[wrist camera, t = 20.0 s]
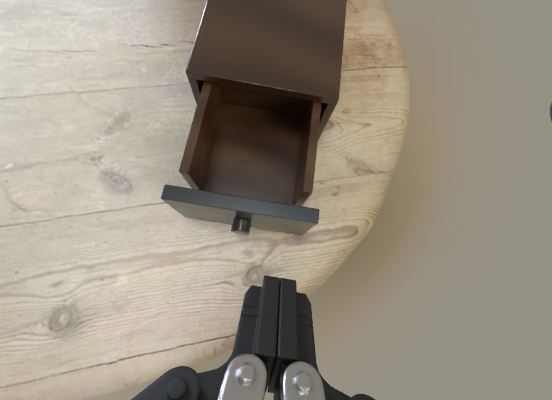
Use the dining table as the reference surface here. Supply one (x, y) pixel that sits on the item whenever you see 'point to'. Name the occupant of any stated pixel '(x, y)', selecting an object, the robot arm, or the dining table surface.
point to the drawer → (249, 160)
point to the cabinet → (272, 49)
